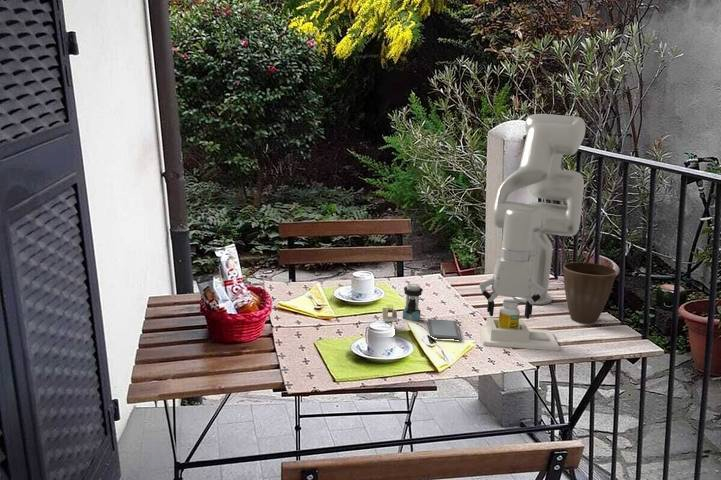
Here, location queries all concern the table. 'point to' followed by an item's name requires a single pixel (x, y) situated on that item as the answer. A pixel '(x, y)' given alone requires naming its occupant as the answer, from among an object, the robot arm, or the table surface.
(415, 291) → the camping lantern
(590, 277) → the plant pot
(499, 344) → the organizer tray
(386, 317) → the platform
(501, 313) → the supplement bottle
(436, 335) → the phone
